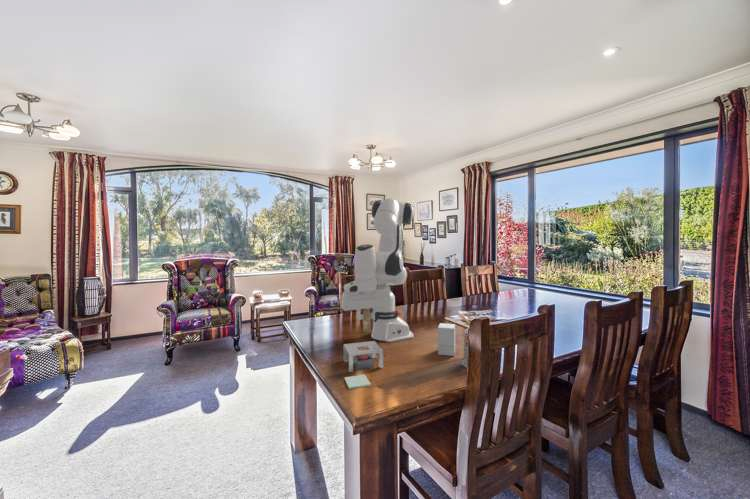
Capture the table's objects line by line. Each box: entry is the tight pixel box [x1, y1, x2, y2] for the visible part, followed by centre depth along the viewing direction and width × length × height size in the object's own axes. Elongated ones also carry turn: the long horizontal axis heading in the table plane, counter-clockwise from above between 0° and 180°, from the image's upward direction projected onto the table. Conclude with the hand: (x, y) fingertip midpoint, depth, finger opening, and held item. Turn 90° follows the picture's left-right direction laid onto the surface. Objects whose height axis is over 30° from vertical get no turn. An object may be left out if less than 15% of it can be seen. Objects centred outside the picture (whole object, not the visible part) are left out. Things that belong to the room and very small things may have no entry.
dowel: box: [362, 308, 372, 333], centre depth 129 cm, size 3×3×10 cm
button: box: [358, 354, 369, 360], centre depth 132 cm, size 4×4×3 cm
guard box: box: [342, 340, 384, 373], centre depth 133 cm, size 14×12×7 cm
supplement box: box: [437, 322, 456, 357], centre depth 145 cm, size 7×7×13 cm
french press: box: [461, 305, 477, 369], centre depth 133 cm, size 10×12×25 cm
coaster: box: [344, 374, 372, 390], centre depth 117 cm, size 8×8×1 cm
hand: (366, 318), depth 129 cm, fingers closed on dowel, 3 cm apart
